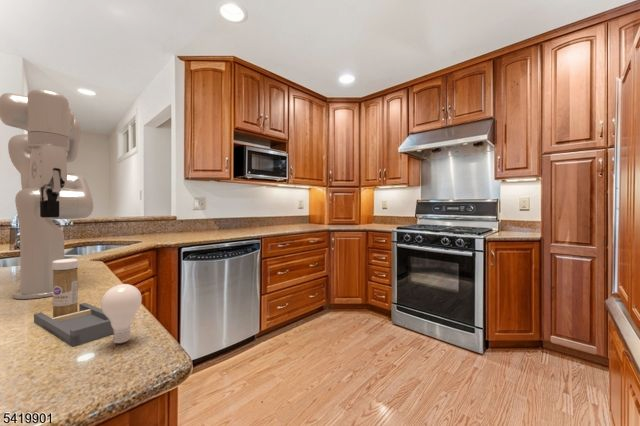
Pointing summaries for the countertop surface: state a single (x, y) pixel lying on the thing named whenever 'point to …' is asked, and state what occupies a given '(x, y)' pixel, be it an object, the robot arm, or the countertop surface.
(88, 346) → the countertop surface
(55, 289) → the sprinkles bottle
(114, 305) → the lightbulb
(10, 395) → the countertop surface
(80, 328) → the tray
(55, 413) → the countertop surface
